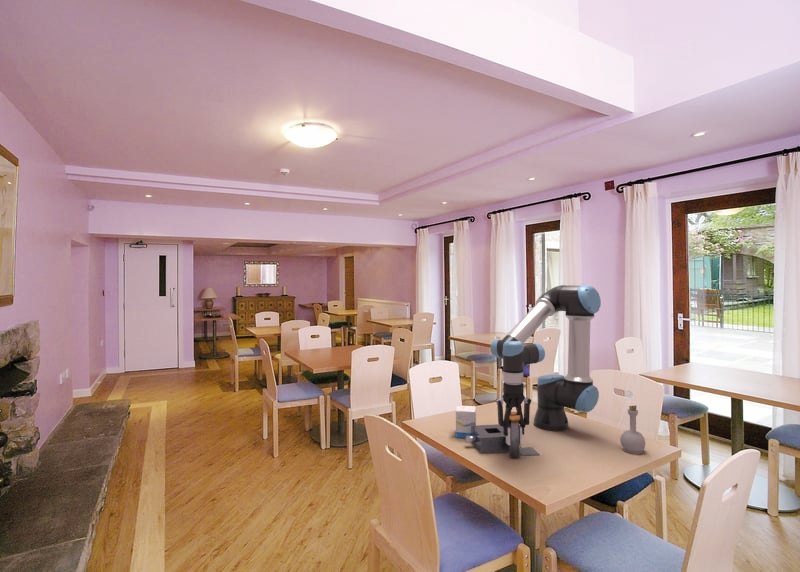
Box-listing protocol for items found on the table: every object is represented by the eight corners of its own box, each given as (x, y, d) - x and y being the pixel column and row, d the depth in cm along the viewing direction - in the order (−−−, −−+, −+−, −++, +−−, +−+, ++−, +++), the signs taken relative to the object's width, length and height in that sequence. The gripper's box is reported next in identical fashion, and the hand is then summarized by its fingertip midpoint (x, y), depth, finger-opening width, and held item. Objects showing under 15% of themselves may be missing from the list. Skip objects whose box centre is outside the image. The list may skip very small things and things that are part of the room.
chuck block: (503, 438, 181) (503, 424, 181) (516, 451, 167) (515, 435, 167) (461, 440, 179) (461, 426, 179) (471, 453, 165) (471, 438, 165)
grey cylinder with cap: (517, 452, 165) (517, 411, 165) (523, 457, 160) (522, 415, 160) (505, 453, 165) (504, 412, 164) (510, 458, 159) (509, 416, 159)
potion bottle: (636, 456, 161) (636, 409, 161) (615, 448, 169) (615, 403, 169) (651, 452, 165) (650, 406, 165) (629, 444, 173) (629, 400, 173)
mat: (532, 448, 170) (532, 447, 170) (539, 455, 163) (539, 454, 163) (515, 449, 170) (515, 448, 170) (522, 456, 163) (522, 455, 163)
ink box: (475, 439, 180) (475, 411, 180) (455, 437, 182) (455, 410, 182) (476, 432, 189) (475, 405, 189) (456, 431, 191) (456, 404, 190)
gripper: (530, 379, 167) (531, 438, 167) (488, 381, 165) (489, 441, 165) (539, 383, 159) (539, 445, 160) (495, 386, 157) (495, 448, 157)
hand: (514, 443), depth 162 cm, fingers closed on grey cylinder with cap, 4 cm apart
